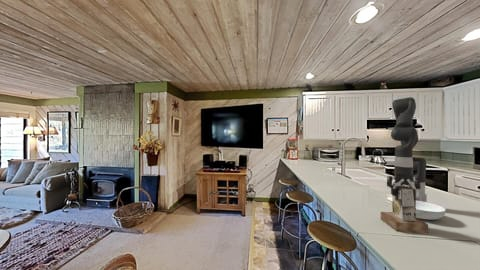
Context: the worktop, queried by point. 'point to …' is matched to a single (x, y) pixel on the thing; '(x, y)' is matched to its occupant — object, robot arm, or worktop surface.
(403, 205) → the coffee box
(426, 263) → the worktop surface
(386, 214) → the walnut block
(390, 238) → the worktop surface
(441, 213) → the serving bowl
